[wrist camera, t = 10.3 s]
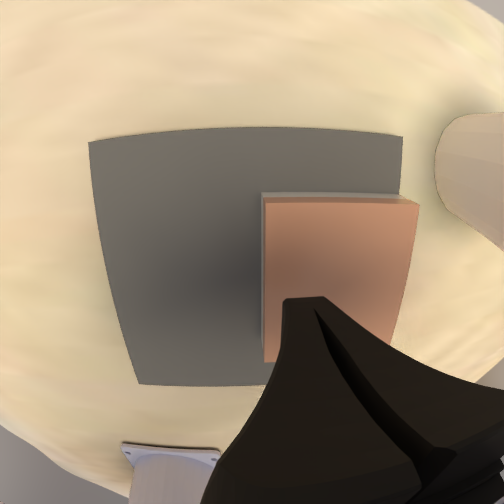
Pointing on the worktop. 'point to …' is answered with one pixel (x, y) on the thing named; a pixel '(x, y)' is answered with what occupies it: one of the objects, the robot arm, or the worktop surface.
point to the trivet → (211, 236)
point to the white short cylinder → (474, 172)
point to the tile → (335, 256)
